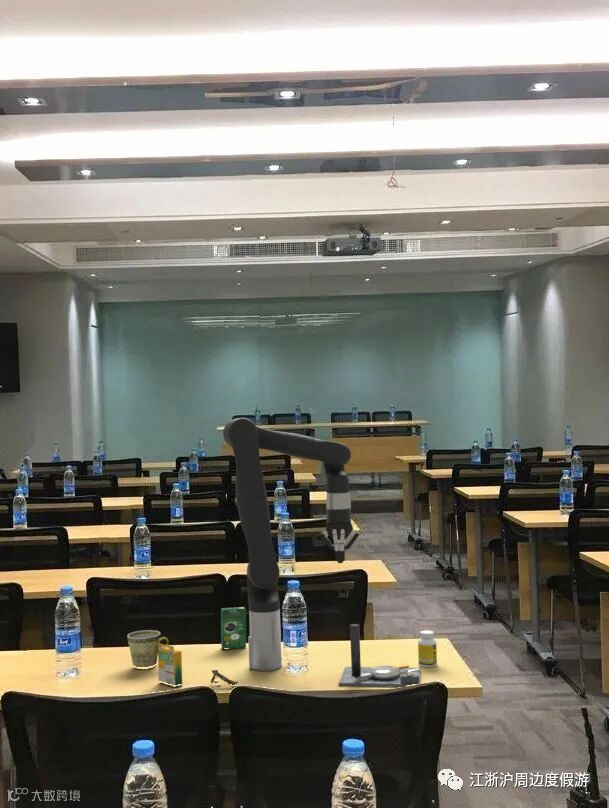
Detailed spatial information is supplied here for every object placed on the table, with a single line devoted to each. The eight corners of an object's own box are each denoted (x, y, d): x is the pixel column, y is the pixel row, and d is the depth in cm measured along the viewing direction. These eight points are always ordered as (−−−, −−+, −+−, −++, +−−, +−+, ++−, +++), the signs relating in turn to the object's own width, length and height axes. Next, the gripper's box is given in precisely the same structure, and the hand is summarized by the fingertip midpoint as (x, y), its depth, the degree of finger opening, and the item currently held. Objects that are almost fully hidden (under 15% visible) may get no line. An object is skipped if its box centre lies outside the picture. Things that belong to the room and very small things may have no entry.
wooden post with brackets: (209, 681, 242) (214, 667, 241) (232, 694, 239) (238, 680, 238) (206, 683, 240) (211, 668, 239) (229, 696, 237) (235, 682, 237)
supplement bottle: (436, 668, 249) (435, 634, 249) (418, 667, 250) (416, 634, 250) (437, 662, 254) (436, 629, 255) (419, 662, 256) (418, 629, 256)
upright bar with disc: (399, 665, 249) (397, 613, 249) (416, 673, 241) (414, 619, 241) (344, 676, 241) (342, 622, 241) (360, 685, 233) (358, 629, 233)
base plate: (338, 685, 236) (338, 671, 236) (345, 669, 251) (344, 656, 251) (419, 687, 232) (418, 672, 233) (420, 670, 247) (420, 657, 247)
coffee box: (245, 645, 281) (244, 605, 281) (247, 648, 278) (245, 607, 278) (221, 648, 279) (219, 607, 279) (222, 650, 276) (221, 609, 276)
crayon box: (183, 685, 241) (181, 644, 241) (174, 688, 239) (173, 646, 239) (166, 680, 246) (165, 640, 246) (158, 683, 244) (157, 642, 244)
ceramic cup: (122, 671, 257) (121, 638, 257) (136, 661, 266) (135, 629, 267) (162, 672, 254) (161, 639, 254) (175, 663, 263) (174, 630, 264)
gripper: (315, 508, 262) (317, 565, 262) (358, 508, 260) (360, 564, 260) (319, 506, 270) (321, 560, 270) (360, 505, 268) (362, 560, 267)
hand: (340, 562), depth 265 cm, fingers closed
